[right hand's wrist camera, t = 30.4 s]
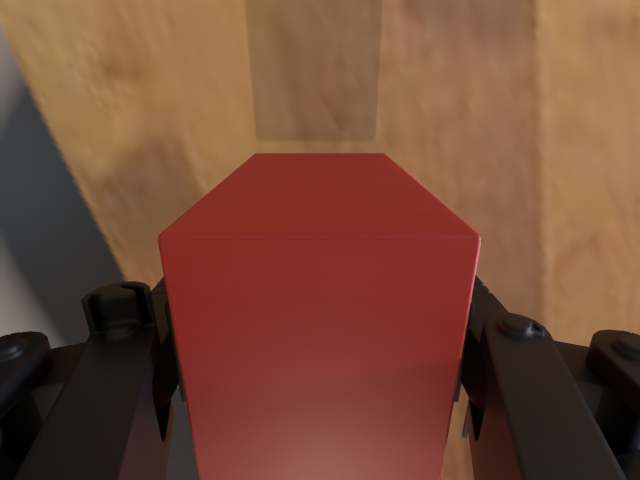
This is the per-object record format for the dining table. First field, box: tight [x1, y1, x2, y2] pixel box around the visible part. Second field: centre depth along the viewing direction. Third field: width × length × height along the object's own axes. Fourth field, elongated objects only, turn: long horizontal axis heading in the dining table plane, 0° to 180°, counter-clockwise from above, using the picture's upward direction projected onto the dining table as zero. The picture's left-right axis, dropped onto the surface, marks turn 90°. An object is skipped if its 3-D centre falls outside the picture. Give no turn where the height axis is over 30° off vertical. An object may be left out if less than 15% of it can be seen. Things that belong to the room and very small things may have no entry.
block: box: [158, 154, 481, 480], centre depth 11 cm, size 5×7×9 cm
